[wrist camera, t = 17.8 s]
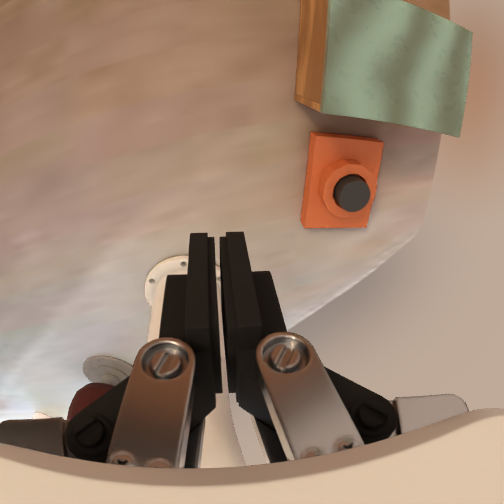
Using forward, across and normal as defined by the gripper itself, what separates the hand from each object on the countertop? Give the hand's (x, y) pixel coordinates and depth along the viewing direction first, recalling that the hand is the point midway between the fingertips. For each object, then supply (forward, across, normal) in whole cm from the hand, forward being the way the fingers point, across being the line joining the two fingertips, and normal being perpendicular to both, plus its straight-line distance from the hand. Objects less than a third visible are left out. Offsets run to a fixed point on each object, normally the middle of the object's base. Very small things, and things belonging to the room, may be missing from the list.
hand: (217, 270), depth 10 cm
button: (+24, -16, +7) cm, 29 cm away
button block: (+27, -16, +7) cm, 32 cm away
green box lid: (+18, -17, -9) cm, 27 cm away
